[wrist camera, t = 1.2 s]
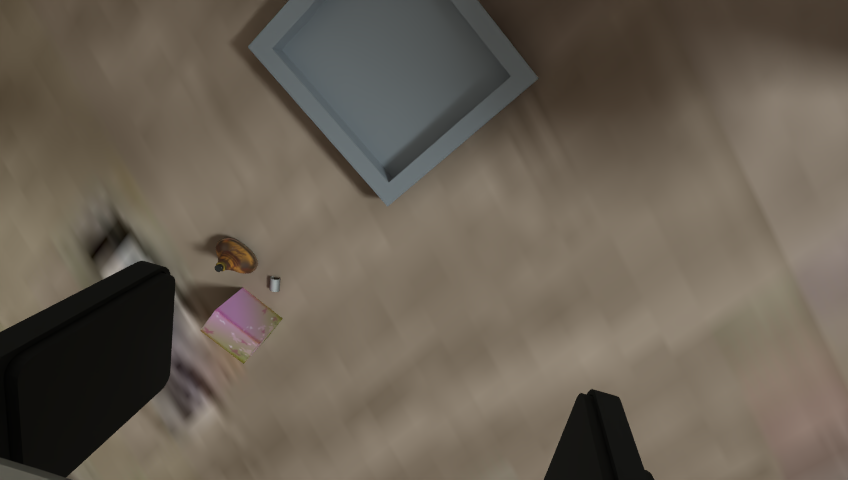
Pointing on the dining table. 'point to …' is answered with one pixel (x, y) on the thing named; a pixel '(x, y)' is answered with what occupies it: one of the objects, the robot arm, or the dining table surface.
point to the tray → (393, 78)
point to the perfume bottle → (240, 306)
